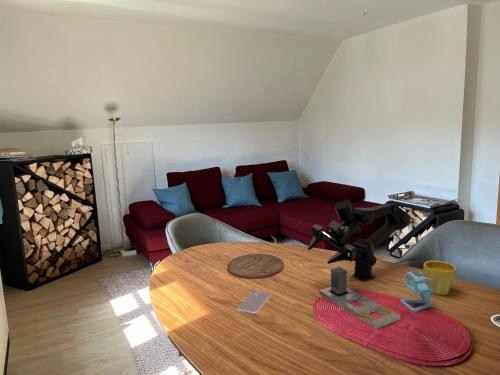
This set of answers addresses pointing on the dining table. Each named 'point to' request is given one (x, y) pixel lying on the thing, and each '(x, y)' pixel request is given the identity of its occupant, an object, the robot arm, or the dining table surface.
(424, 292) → the light blue stand
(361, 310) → the grey slotted board
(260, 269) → the trivet
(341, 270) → the steel peg
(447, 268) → the plant pot
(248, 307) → the mobile phone
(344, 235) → the robot arm
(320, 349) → the dining table surface
